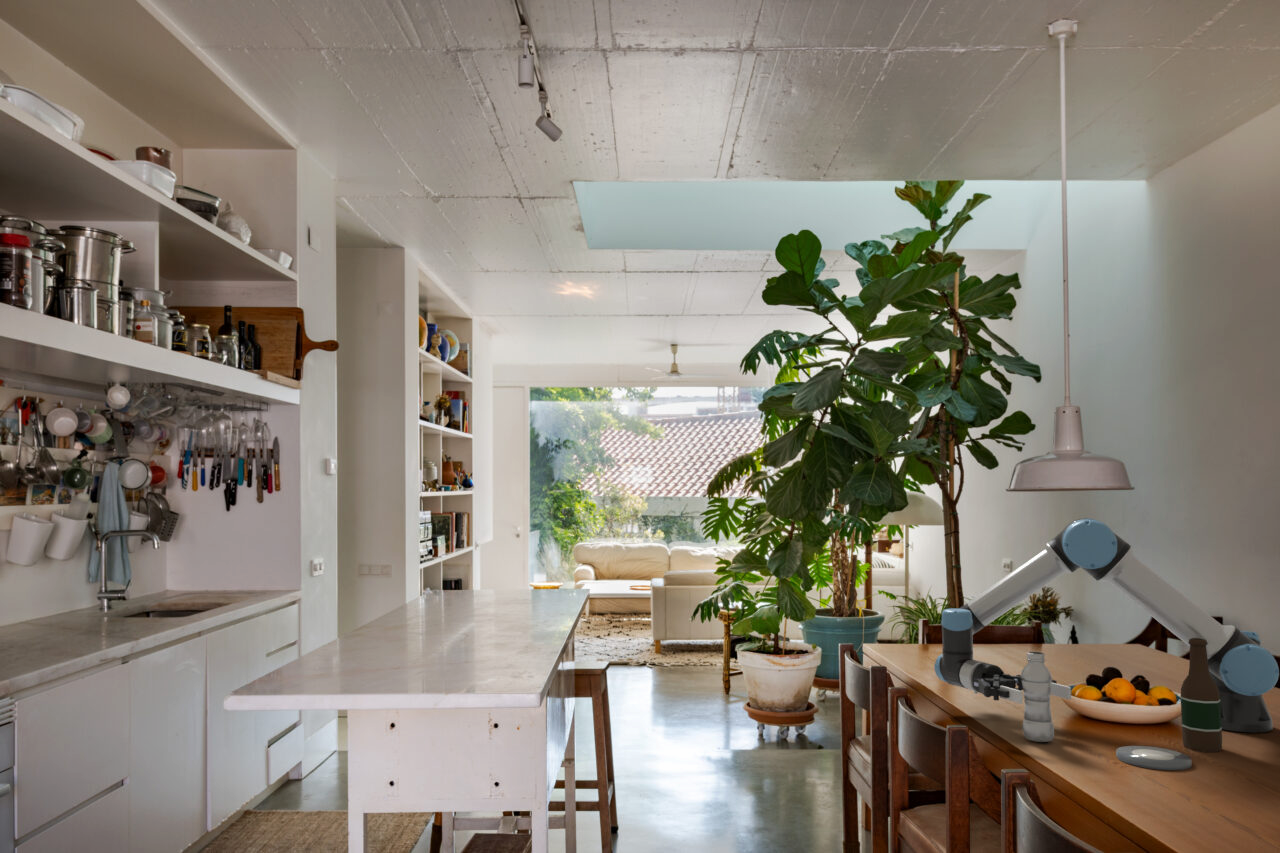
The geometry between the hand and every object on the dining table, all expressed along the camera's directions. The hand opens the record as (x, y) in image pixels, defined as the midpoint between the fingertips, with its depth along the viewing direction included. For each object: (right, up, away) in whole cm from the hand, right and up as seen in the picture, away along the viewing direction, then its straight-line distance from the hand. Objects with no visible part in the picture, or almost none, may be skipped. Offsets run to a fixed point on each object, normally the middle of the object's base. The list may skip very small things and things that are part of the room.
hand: (1045, 695), depth 209 cm
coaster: (+17, -10, -13) cm, 24 cm away
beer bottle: (+33, -11, -3) cm, 35 cm away
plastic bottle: (-1, -11, +2) cm, 11 cm away
